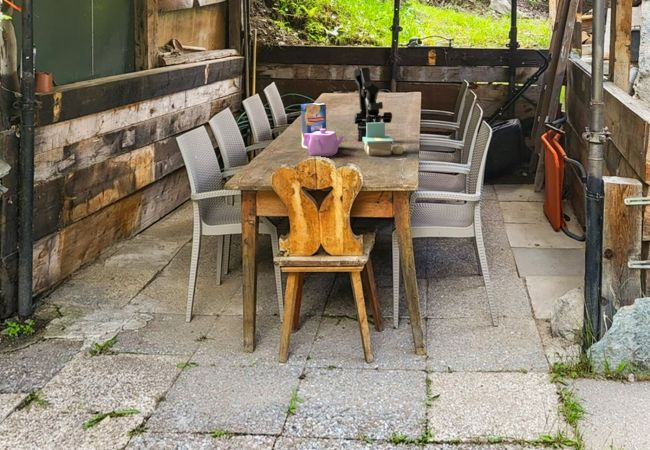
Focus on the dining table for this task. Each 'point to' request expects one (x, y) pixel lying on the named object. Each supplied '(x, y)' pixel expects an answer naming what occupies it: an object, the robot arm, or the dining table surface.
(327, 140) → the teakettle
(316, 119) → the beverage box
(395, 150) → the tape roll
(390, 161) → the dining table surface
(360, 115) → the robot arm
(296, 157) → the dining table surface
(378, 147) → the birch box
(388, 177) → the dining table surface
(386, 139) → the teal l-shaped bracket
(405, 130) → the dining table surface
